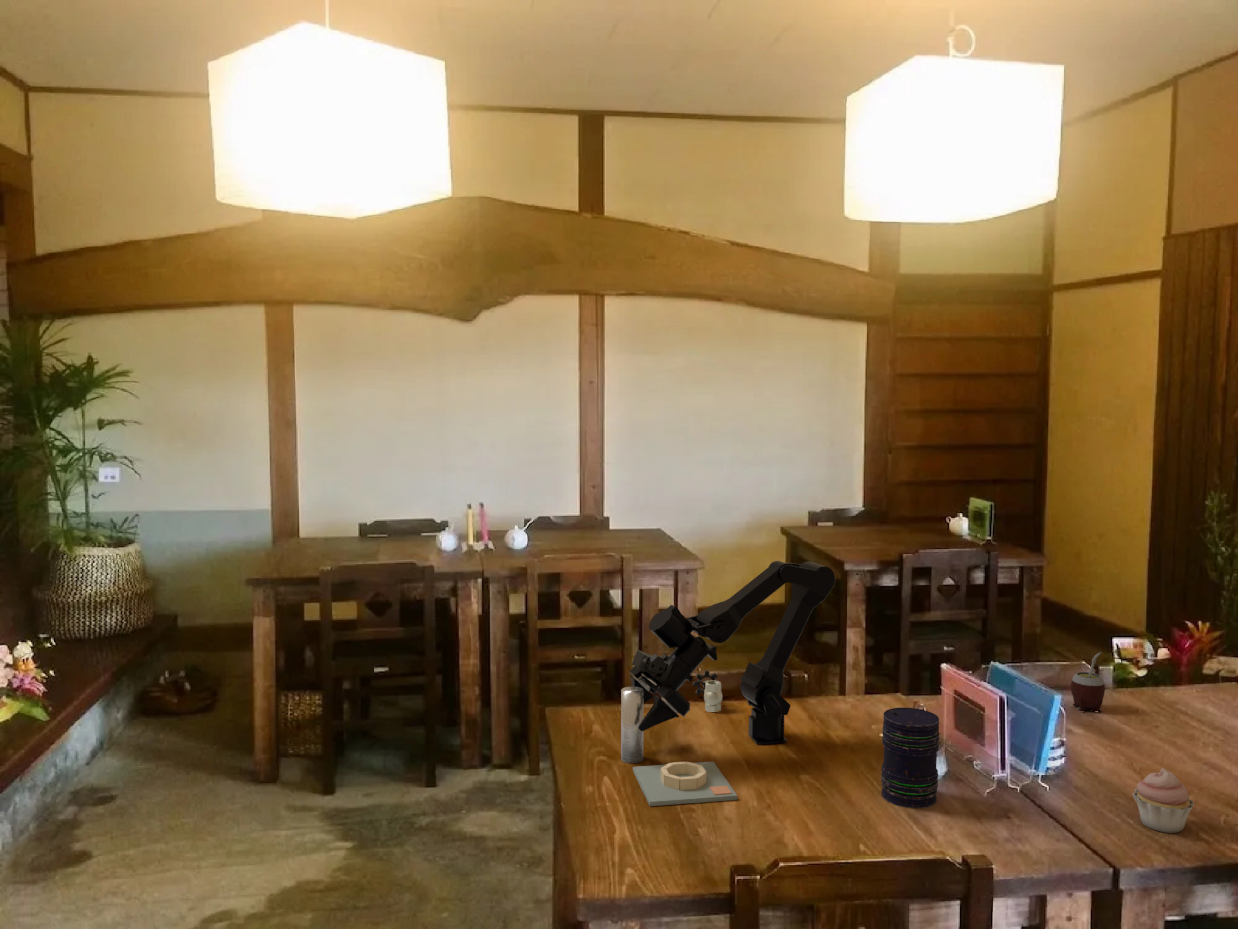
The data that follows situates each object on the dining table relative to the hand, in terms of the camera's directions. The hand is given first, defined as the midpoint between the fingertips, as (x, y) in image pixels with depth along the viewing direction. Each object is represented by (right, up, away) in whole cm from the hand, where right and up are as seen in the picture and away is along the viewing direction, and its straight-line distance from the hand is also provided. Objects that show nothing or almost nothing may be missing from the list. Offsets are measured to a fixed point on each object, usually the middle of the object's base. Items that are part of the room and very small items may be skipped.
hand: (630, 722), depth 197 cm
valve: (+19, -5, +33) cm, 39 cm away
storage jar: (+50, -9, -17) cm, 54 cm away
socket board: (+10, -9, -12) cm, 17 cm away
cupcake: (+90, -10, -28) cm, 95 cm away
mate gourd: (+105, -5, +30) cm, 109 cm away
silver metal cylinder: (0, -8, +1) cm, 8 cm away
